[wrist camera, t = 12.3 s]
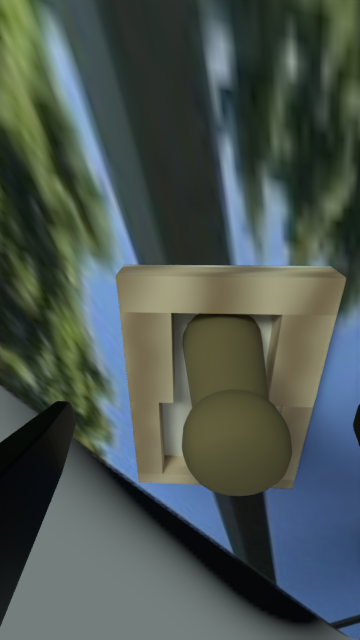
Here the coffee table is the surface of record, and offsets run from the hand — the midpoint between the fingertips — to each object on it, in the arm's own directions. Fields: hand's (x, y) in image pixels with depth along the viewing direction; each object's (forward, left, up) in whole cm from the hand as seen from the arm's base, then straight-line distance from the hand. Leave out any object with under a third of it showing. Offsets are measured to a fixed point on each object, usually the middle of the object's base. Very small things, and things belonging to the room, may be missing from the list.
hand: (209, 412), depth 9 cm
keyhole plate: (-1, +9, -13) cm, 16 cm away
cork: (-1, +5, -13) cm, 14 cm away
